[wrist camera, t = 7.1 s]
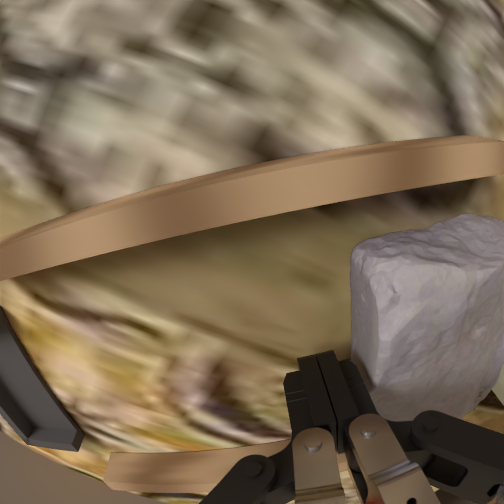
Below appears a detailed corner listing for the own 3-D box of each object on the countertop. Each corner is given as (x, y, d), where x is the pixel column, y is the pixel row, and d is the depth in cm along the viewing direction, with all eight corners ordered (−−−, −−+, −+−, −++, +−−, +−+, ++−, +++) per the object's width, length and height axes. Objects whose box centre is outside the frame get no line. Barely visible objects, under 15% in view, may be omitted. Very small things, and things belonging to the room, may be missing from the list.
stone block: (482, 193, 14) (324, 236, 12) (553, 220, 9) (403, 296, 8) (454, 359, 18) (332, 421, 17) (496, 398, 14) (368, 482, 13)
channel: (467, 135, 11) (506, 141, 8) (440, 404, 17) (455, 430, 14) (-14, 244, 11) (-45, 265, 9) (119, 461, 17) (112, 489, 15)
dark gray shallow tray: (0, 305, 12) (-15, 321, 11) (84, 434, 16) (78, 451, 15) (-44, 314, 13) (-57, 327, 11) (34, 430, 16) (27, 444, 15)
